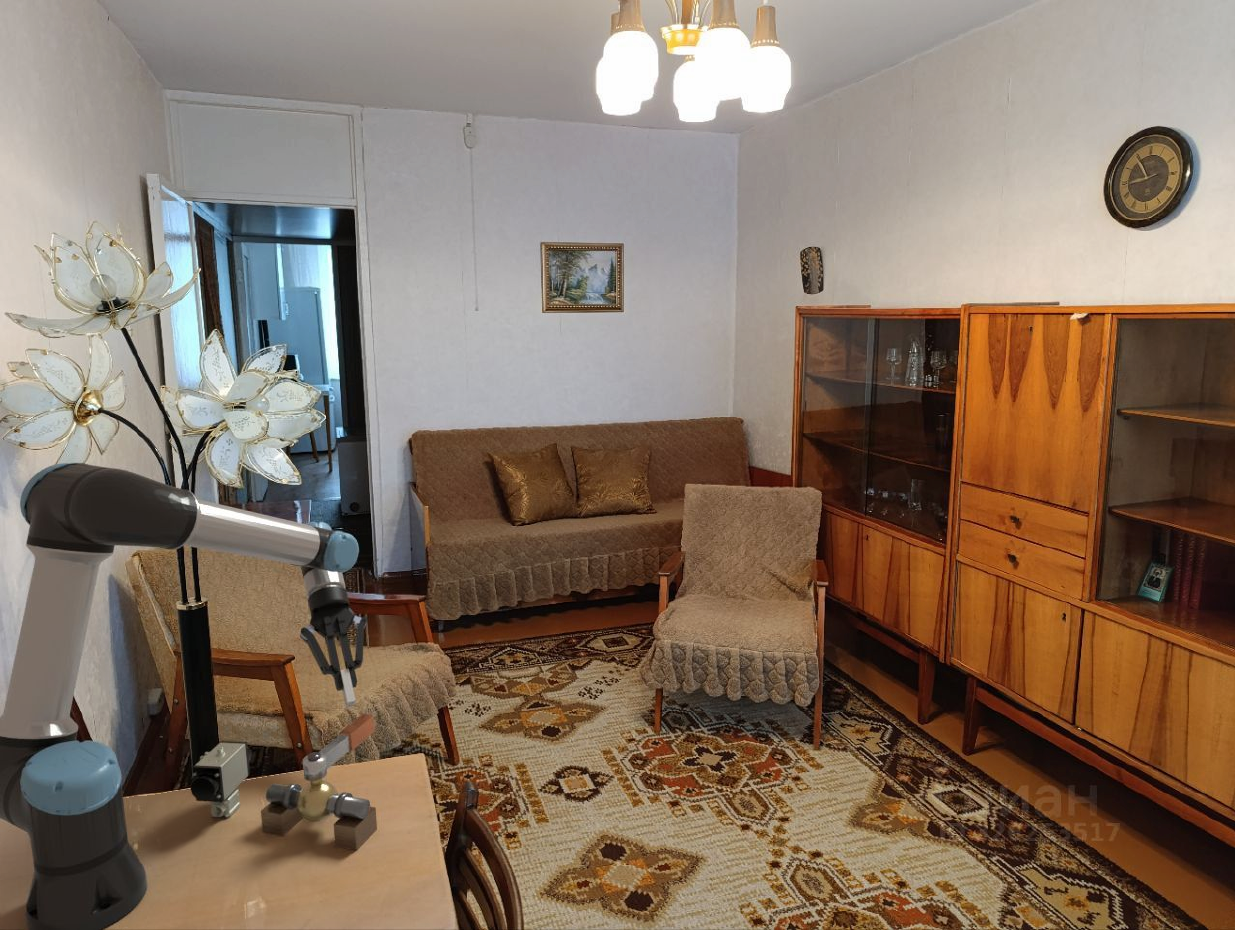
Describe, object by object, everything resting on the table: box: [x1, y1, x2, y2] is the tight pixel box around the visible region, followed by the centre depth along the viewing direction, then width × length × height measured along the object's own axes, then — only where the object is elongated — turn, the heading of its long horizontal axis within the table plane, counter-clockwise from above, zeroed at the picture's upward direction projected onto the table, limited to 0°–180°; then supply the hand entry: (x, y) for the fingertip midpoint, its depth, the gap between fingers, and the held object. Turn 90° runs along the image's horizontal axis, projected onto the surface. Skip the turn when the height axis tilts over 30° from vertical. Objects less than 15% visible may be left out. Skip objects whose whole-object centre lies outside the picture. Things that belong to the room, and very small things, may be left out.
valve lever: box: [302, 713, 376, 782], centre depth 147 cm, size 18×4×4 cm, turn 164°
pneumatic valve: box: [190, 740, 253, 818], centre depth 147 cm, size 6×12×12 cm, turn 174°
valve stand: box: [260, 778, 378, 852], centre depth 142 cm, size 18×7×10 cm, turn 74°
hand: (350, 704), depth 159 cm, fingers closed
